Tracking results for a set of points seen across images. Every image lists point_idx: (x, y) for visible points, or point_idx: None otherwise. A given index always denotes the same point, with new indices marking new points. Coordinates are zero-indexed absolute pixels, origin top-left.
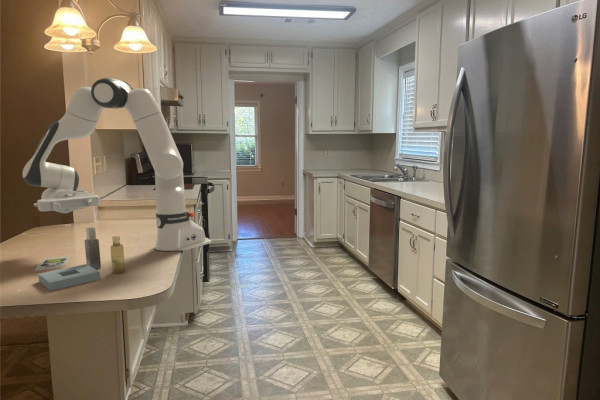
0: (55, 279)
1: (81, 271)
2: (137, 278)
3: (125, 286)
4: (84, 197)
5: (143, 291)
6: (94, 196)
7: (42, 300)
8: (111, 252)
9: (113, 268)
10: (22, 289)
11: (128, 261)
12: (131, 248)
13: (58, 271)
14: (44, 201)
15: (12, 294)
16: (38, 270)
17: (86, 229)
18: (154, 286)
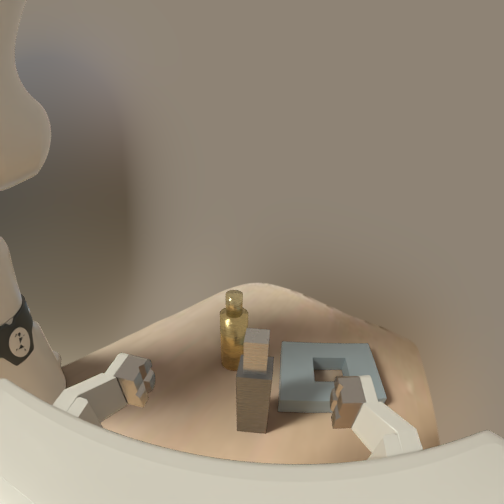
0: (358, 351)
1: (308, 361)
2: None
3: (268, 311)
4: (72, 423)
5: (262, 291)
6: (8, 389)
7: (375, 332)
8: (247, 325)
9: None
10: (405, 386)
11: (165, 402)
12: None
13: None
14: (480, 432)
15: (416, 373)
16: None
17: (268, 344)
18: (243, 293)
